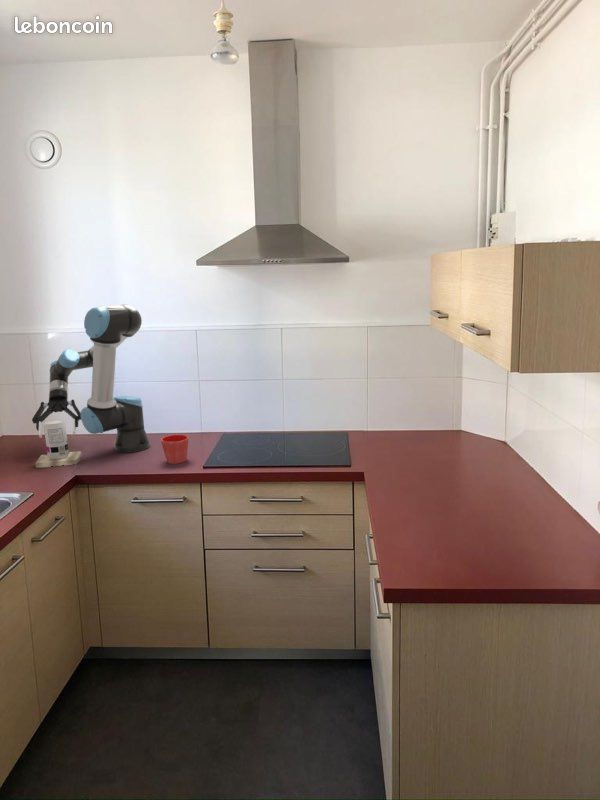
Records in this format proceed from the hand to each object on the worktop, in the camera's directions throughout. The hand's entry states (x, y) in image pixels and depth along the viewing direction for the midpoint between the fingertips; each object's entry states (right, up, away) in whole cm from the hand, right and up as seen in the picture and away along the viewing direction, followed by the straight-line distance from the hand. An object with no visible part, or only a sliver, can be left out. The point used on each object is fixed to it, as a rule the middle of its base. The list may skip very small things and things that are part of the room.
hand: (57, 435), depth 260 cm
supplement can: (+2, -9, -3) cm, 10 cm away
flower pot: (+52, -10, -8) cm, 53 cm away
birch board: (+2, -11, -2) cm, 11 cm away
